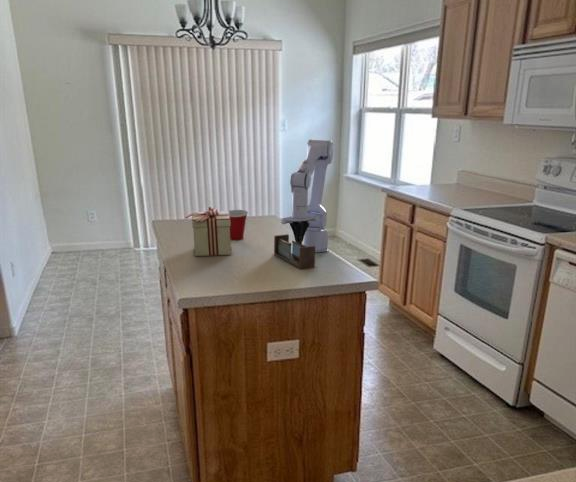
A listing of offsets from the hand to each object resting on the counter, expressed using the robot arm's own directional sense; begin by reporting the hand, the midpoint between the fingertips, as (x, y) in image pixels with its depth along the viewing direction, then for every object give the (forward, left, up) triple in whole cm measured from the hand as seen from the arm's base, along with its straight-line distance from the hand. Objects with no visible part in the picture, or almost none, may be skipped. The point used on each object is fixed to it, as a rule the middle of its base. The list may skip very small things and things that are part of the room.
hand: (298, 241), depth 204 cm
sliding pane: (0, 0, -7) cm, 7 cm away
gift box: (+26, -27, -8) cm, 39 cm away
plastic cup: (+7, -44, -8) cm, 45 cm away
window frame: (+1, -1, -8) cm, 8 cm away
